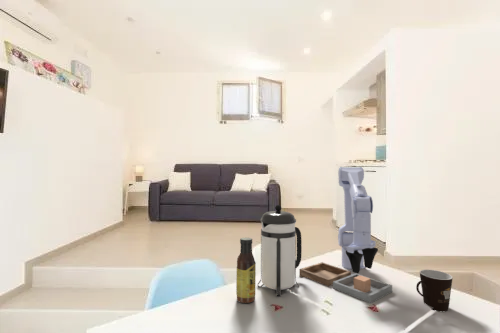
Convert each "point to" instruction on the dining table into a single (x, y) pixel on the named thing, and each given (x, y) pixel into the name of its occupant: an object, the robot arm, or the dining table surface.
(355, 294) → the grey bin
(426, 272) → the coffee mug
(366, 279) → the terracotta block
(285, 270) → the coffee press
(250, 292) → the sauce bottle
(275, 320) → the dining table surface
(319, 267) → the walnut crate
